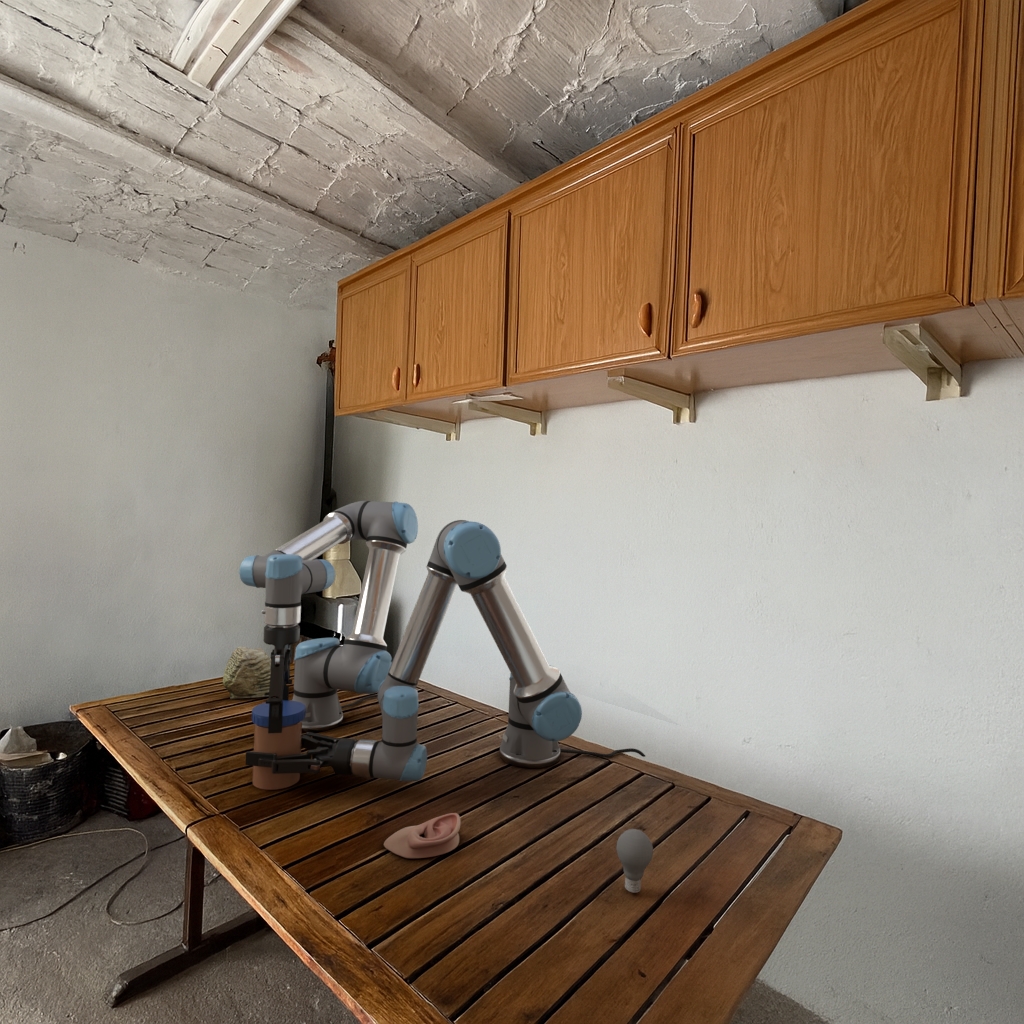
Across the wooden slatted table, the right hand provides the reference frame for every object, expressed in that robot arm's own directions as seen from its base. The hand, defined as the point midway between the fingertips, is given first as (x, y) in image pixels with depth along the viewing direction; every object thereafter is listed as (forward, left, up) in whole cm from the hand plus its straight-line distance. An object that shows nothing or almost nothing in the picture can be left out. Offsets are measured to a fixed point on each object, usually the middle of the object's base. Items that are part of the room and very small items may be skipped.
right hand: (259, 748), depth 141 cm
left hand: (-4, +2, +6) cm, 7 cm away
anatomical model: (-30, +35, -7) cm, 47 cm away
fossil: (+5, -61, -7) cm, 62 cm away
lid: (-4, +2, +9) cm, 10 cm away
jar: (-4, +2, -7) cm, 8 cm away
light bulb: (-62, +58, -7) cm, 85 cm away
